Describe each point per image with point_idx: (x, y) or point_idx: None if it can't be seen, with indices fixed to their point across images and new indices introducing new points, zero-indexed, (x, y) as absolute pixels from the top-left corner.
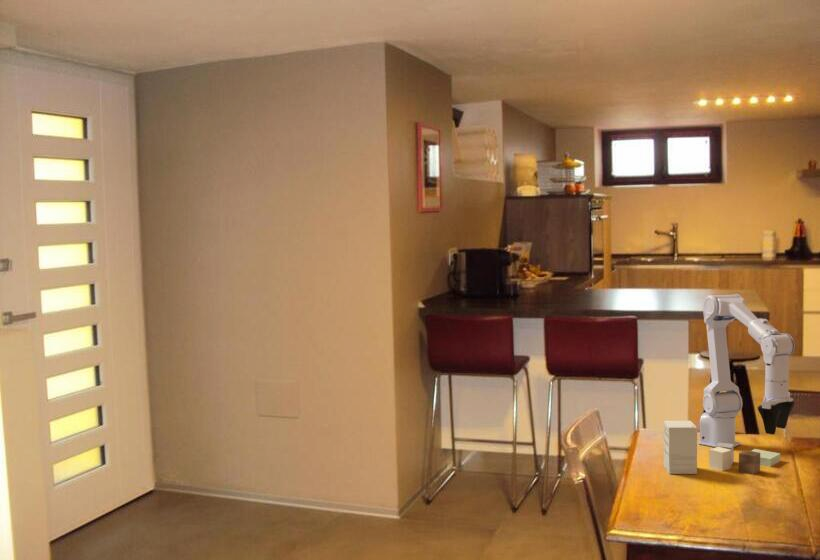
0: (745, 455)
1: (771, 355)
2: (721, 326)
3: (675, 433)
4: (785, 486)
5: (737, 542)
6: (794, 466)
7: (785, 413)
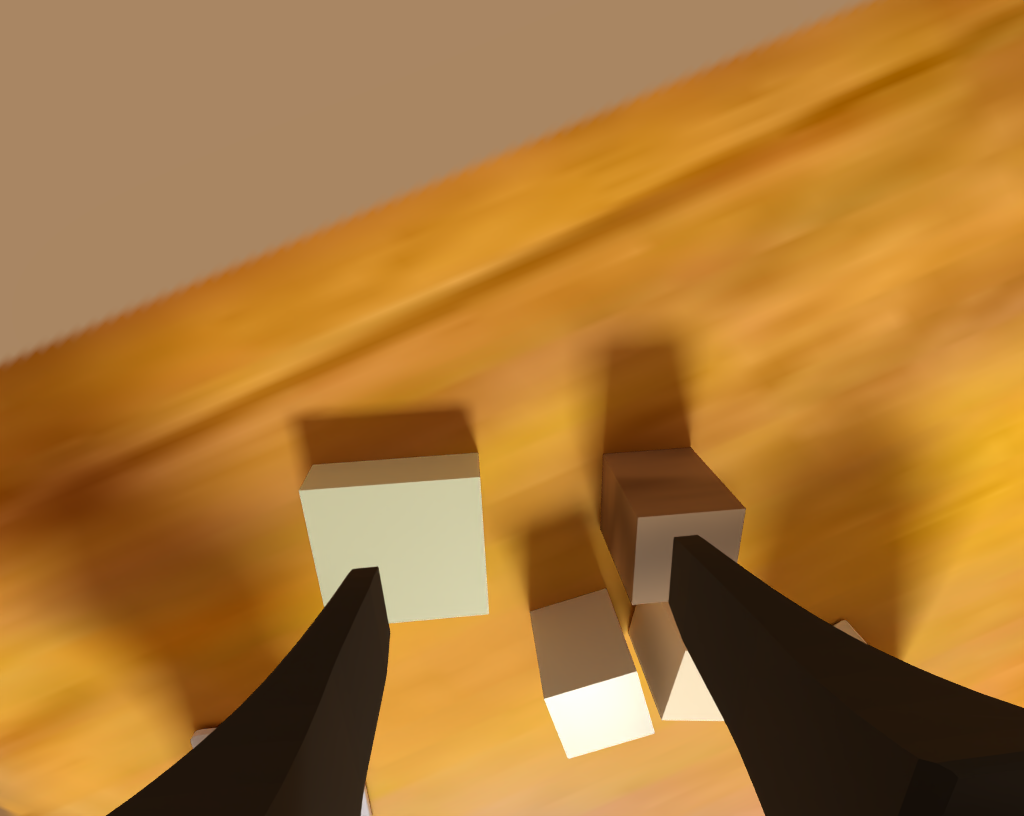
0: (734, 554)
1: None
2: None
3: None
4: (811, 218)
5: None
6: (353, 355)
7: (329, 730)
